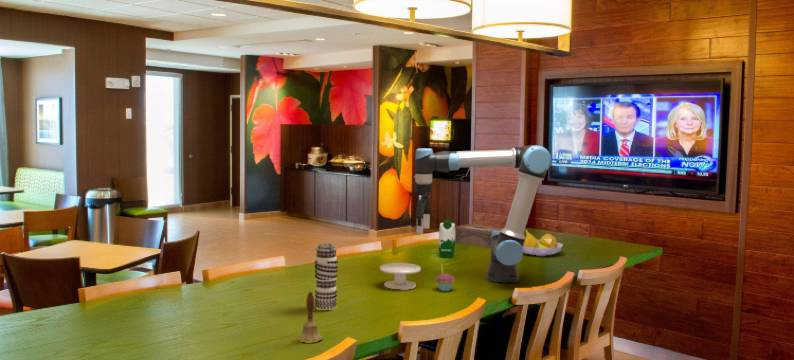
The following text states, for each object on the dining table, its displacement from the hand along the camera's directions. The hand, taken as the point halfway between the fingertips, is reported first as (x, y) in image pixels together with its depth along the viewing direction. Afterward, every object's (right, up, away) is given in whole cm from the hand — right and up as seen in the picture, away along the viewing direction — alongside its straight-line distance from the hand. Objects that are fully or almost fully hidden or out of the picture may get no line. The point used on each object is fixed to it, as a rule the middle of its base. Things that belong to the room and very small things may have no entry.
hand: (423, 230), depth 295 cm
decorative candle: (-39, -27, -38) cm, 61 cm away
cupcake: (+9, -25, -6) cm, 28 cm away
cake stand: (-10, -24, -2) cm, 27 cm away
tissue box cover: (+38, -16, +105) cm, 113 cm away
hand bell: (-40, -31, -75) cm, 90 cm away
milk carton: (+15, -19, +64) cm, 68 cm away
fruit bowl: (+68, -19, +78) cm, 105 cm away
